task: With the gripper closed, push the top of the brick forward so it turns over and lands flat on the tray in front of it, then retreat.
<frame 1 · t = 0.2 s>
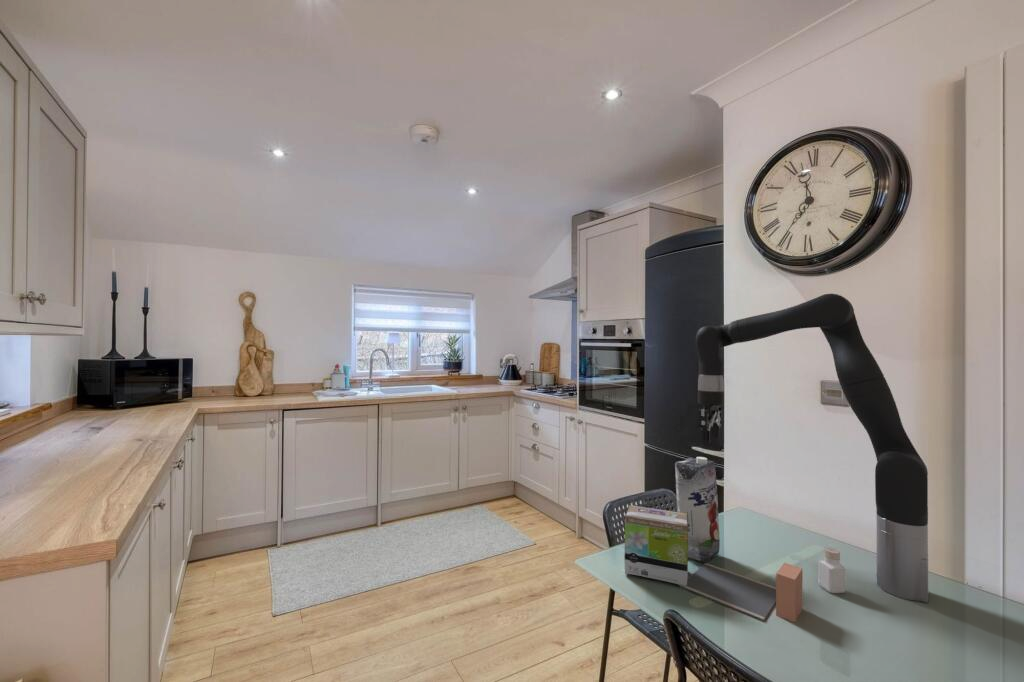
hand: (710, 440, 135), 29 cm above the table, fingers open, 8 cm apart
tray: (731, 589, 103), on the table
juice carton: (699, 555, 119), on the table, touching tray
brick: (789, 612, 94), on the table
tea box: (656, 573, 110), on the table, touching tray
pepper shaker: (831, 590, 103), on the table
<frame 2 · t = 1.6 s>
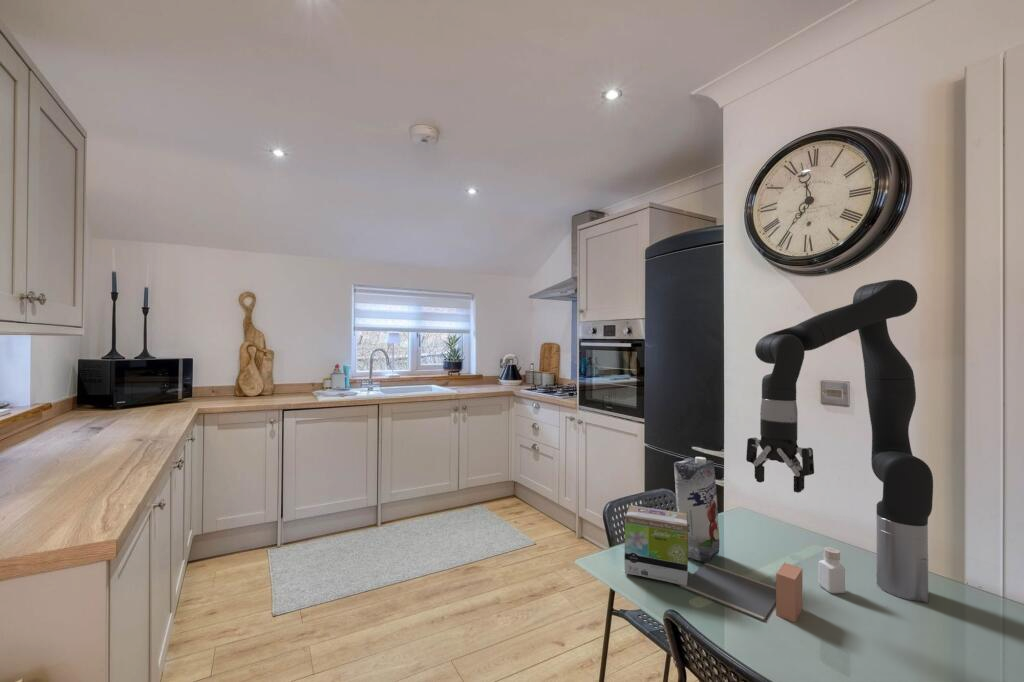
hand: (778, 486, 102), 25 cm above the table, fingers open, 8 cm apart
nothing on the table moved.
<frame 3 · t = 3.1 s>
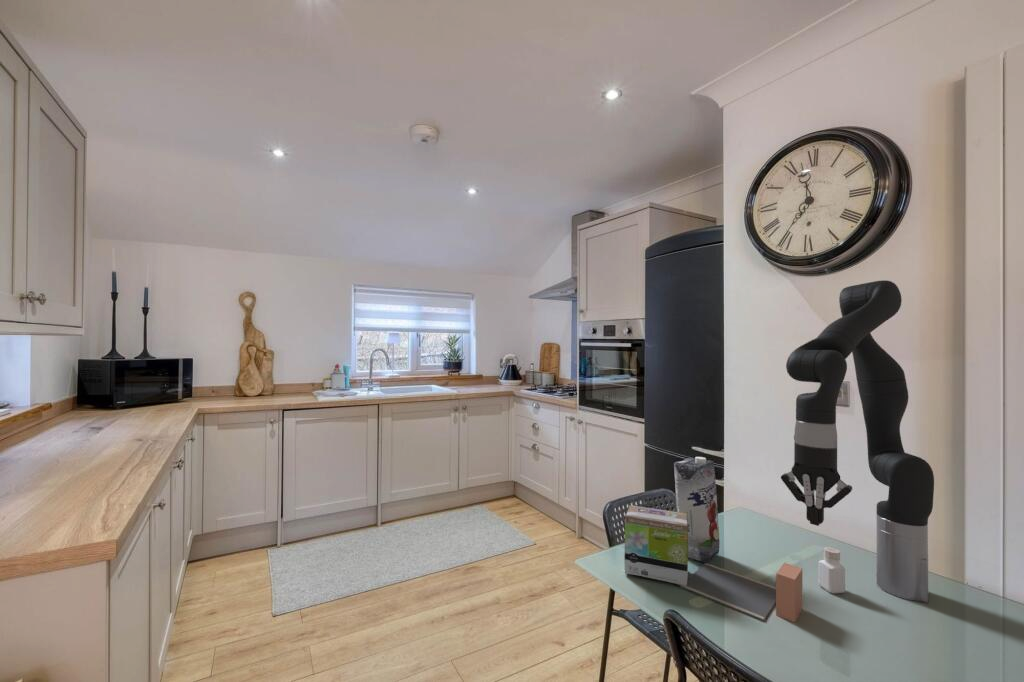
hand: (814, 523, 91), 20 cm above the table, fingers closed
nothing on the table moved.
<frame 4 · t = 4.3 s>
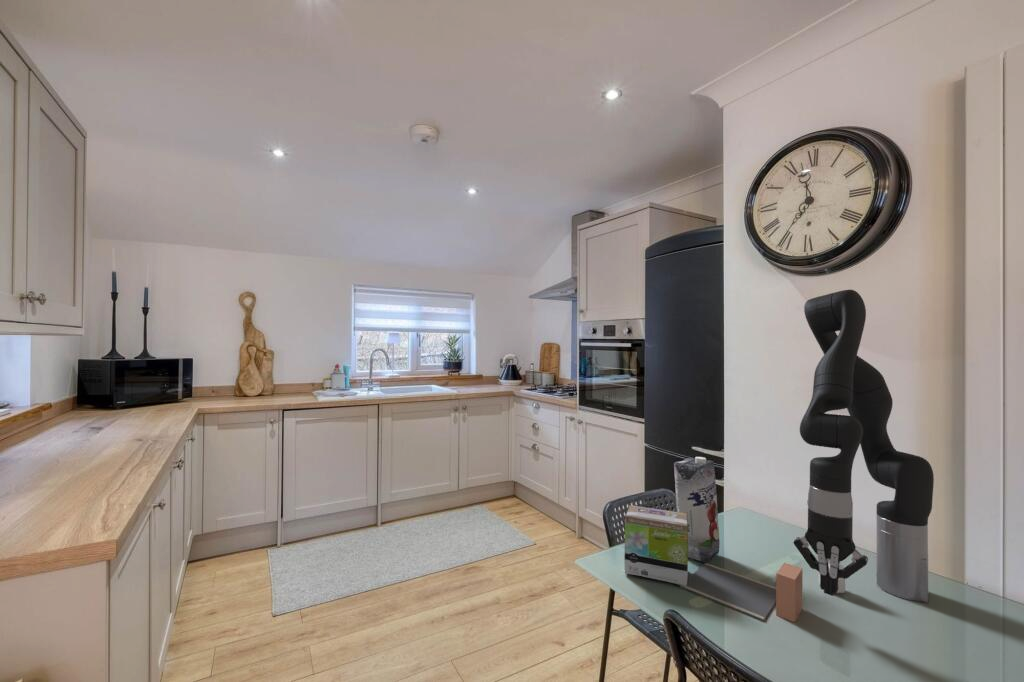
hand: (828, 592, 89), 7 cm above the table, fingers closed
nothing on the table moved.
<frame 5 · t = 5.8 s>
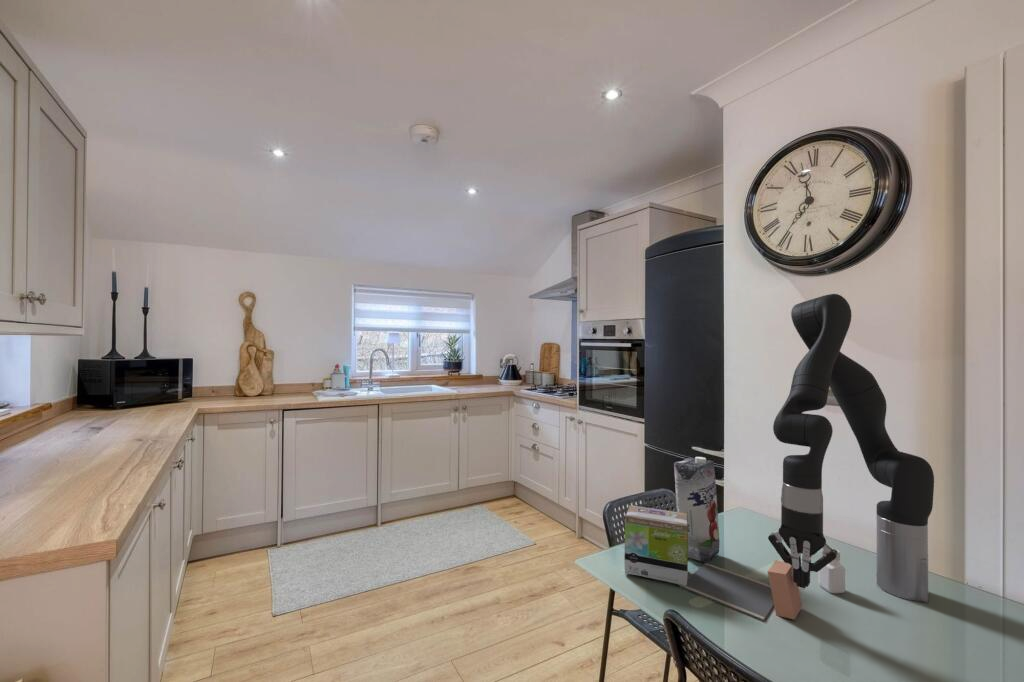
hand: (801, 586, 92), 7 cm above the table, fingers closed
brick: (789, 610, 94), on the table, tilted 11°
everything else where it was.
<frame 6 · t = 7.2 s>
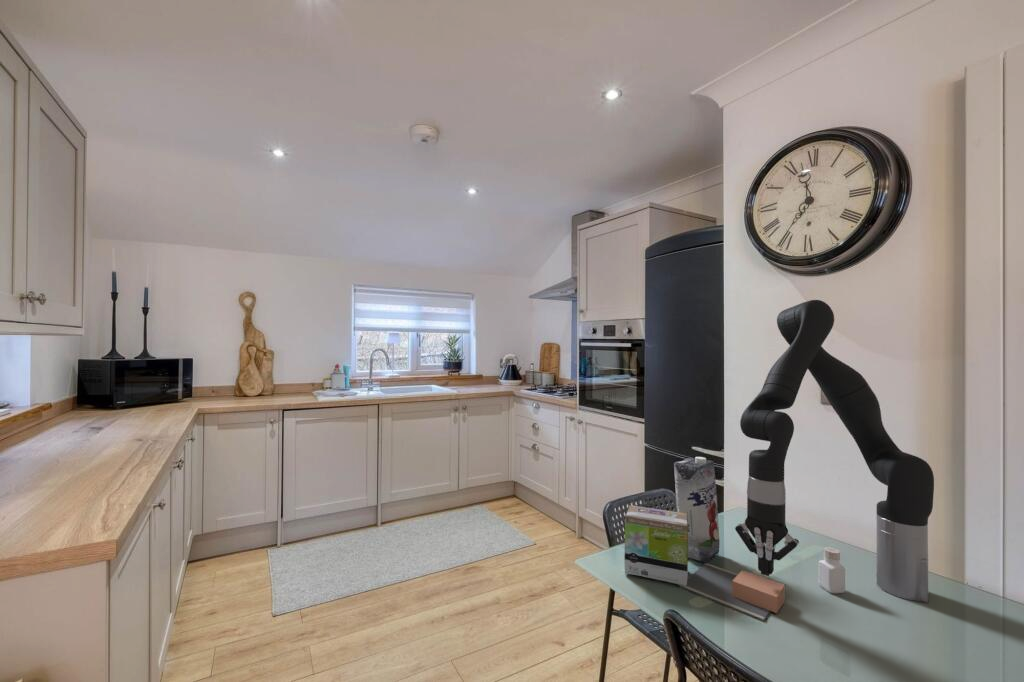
hand: (765, 573, 97), 7 cm above the table, fingers closed
brick: (780, 598, 95), point 2 cm above the table, tilted 90°, touching tray
everything else where it was.
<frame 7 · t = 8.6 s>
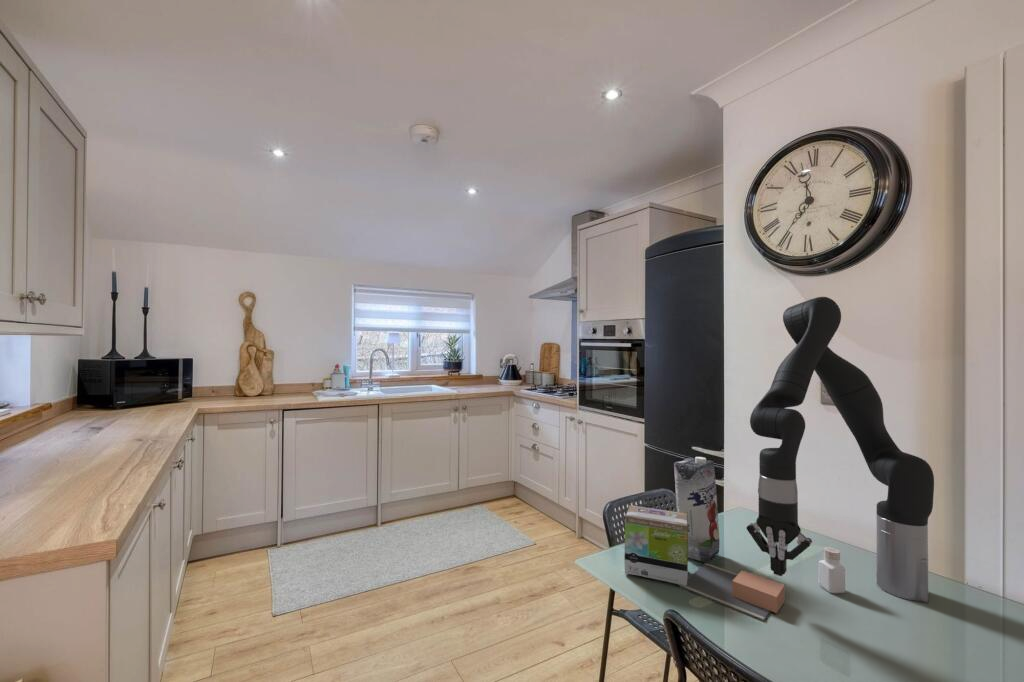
hand: (778, 573, 96), 7 cm above the table, fingers closed
nothing on the table moved.
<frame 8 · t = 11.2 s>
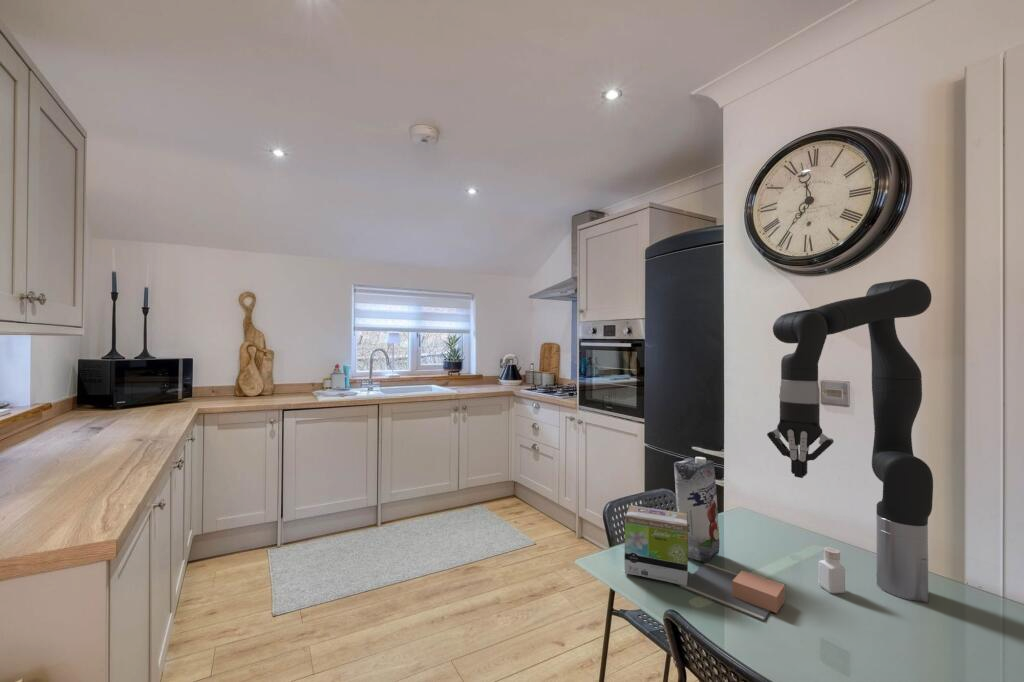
hand: (799, 476, 97), 29 cm above the table, fingers closed
nothing on the table moved.
at the end: brick tilted 90°; brick inside the target area (9.4 cm from its centre), point 2.1 cm above the table; the gripper is holding nothing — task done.
